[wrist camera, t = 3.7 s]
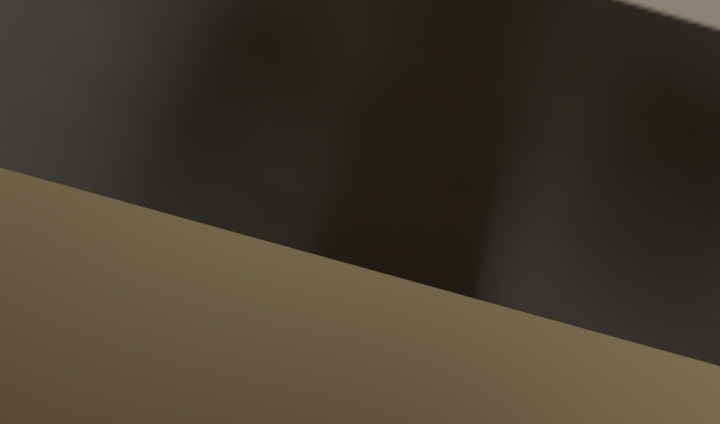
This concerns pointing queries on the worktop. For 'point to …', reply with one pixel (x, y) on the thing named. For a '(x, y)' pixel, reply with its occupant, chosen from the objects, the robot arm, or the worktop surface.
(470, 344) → the birch block
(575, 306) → the worktop surface
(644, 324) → the worktop surface
